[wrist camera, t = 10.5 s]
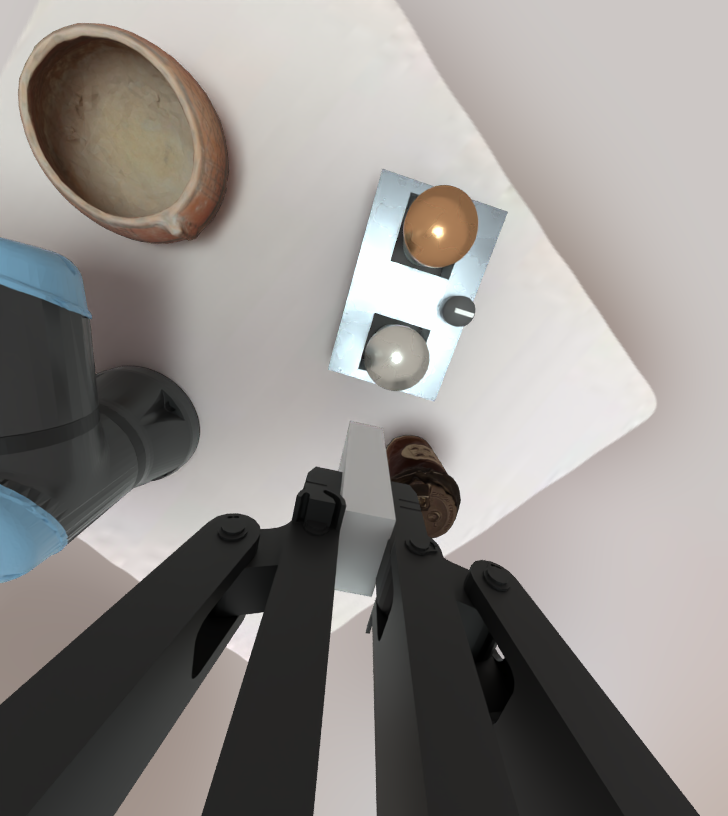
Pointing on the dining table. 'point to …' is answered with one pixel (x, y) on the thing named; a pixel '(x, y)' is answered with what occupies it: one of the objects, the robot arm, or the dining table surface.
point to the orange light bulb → (439, 227)
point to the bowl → (124, 133)
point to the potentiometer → (457, 310)
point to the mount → (408, 285)
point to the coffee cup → (425, 482)
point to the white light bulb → (396, 357)
